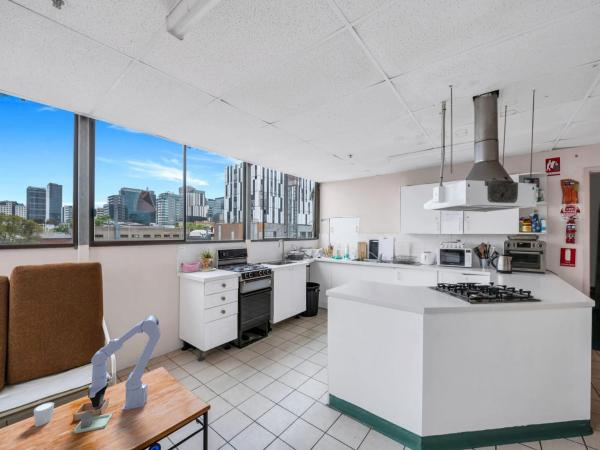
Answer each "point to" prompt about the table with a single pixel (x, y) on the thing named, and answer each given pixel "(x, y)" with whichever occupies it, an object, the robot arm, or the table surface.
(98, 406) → the pebble
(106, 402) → the dish
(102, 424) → the parts tray
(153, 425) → the table surface
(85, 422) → the pebble
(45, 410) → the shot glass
